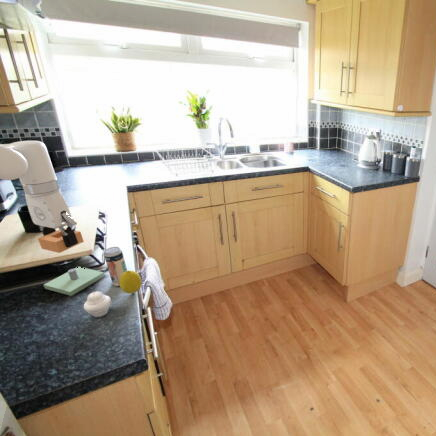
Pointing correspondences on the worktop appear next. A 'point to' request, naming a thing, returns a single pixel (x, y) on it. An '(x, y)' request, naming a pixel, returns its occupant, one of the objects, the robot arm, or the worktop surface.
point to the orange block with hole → (57, 241)
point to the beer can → (115, 264)
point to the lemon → (130, 282)
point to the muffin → (97, 304)
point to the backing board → (74, 280)
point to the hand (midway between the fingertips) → (62, 242)
